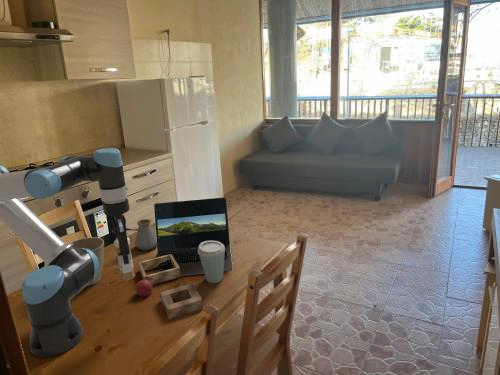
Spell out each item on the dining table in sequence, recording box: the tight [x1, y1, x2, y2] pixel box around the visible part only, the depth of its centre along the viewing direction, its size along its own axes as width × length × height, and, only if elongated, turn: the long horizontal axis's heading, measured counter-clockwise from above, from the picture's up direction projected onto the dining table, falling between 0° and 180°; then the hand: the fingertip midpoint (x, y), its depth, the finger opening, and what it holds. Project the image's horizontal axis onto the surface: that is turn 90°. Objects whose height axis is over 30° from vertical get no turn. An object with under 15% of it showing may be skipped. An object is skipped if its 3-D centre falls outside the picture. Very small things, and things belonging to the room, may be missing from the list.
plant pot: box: [68, 236, 105, 286], centre depth 154 cm, size 15×15×16 cm
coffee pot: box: [111, 218, 158, 251], centre depth 178 cm, size 21×12×15 cm, turn 137°
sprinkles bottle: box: [114, 236, 136, 281], centre depth 123 cm, size 5×5×13 cm
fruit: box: [134, 279, 153, 298], centre depth 143 cm, size 6×6×8 cm
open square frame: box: [137, 254, 182, 286], centre depth 158 cm, size 14×14×4 cm
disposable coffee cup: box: [197, 240, 226, 284], centre depth 149 cm, size 11×11×15 cm
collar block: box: [159, 283, 204, 320], centre depth 136 cm, size 12×12×4 cm
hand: (126, 268), depth 124 cm, fingers closed on sprinkles bottle, 4 cm apart
